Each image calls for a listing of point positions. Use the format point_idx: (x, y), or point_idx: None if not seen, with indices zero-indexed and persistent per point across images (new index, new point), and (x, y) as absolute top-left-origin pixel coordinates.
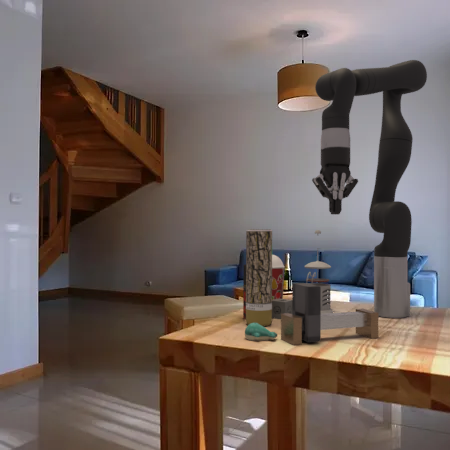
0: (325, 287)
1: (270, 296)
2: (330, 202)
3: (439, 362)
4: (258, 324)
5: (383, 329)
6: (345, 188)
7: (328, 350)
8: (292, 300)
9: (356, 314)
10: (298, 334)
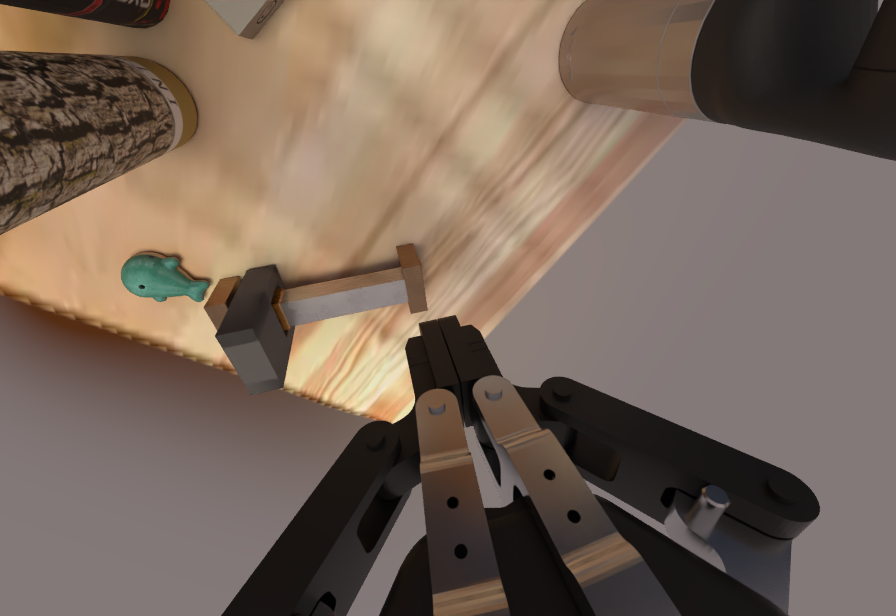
0: None
1: (160, 151)
2: (419, 395)
3: None
4: (152, 289)
5: (470, 220)
6: (621, 459)
7: (300, 349)
8: (227, 310)
9: (383, 306)
10: None
